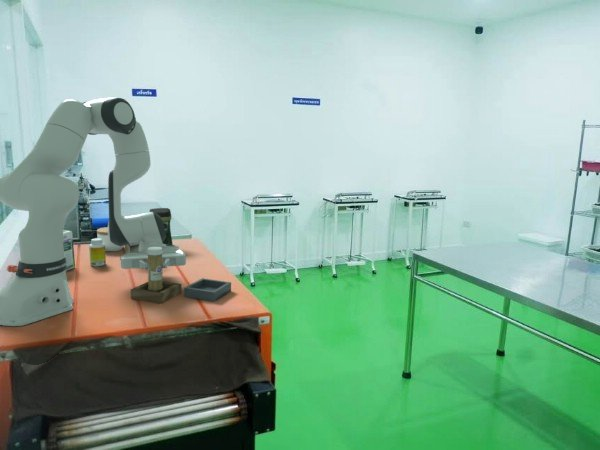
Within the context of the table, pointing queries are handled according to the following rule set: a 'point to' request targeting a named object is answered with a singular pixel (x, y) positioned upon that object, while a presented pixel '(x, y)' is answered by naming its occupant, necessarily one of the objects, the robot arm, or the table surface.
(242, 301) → the table surface
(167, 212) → the coffee jar
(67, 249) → the syrup box
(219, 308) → the table surface
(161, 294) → the socket block
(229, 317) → the table surface
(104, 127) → the robot arm
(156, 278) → the sprinkles bottle
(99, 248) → the supplement bottle
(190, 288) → the tray
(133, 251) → the coffee box
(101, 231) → the lidded bowl
